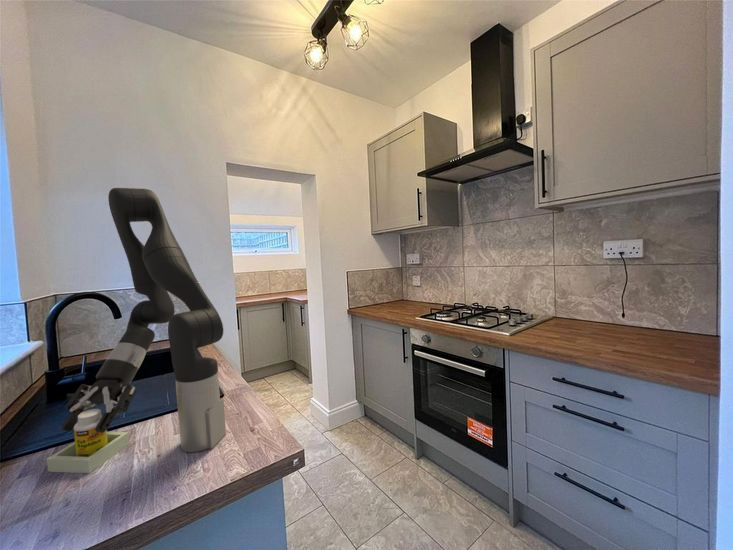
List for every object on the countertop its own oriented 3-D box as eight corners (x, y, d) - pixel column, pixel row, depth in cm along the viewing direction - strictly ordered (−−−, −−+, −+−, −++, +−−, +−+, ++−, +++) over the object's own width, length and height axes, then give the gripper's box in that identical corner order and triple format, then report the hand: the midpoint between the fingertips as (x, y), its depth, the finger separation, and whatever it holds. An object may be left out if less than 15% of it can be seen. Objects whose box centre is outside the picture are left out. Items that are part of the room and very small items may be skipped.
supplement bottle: (73, 465, 67) (68, 422, 66) (80, 451, 71) (76, 410, 70) (105, 456, 69) (101, 415, 68) (110, 443, 74) (107, 404, 73)
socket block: (129, 443, 75) (128, 432, 74) (89, 473, 65) (87, 460, 64) (93, 442, 75) (92, 431, 75) (48, 471, 66) (46, 458, 65)
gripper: (87, 357, 76) (39, 426, 66) (138, 358, 75) (98, 428, 65) (108, 369, 82) (68, 434, 72) (156, 369, 81) (122, 436, 70)
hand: (82, 431), depth 68 cm, fingers open, 8 cm apart
